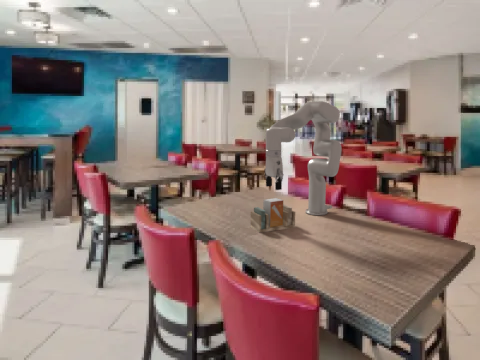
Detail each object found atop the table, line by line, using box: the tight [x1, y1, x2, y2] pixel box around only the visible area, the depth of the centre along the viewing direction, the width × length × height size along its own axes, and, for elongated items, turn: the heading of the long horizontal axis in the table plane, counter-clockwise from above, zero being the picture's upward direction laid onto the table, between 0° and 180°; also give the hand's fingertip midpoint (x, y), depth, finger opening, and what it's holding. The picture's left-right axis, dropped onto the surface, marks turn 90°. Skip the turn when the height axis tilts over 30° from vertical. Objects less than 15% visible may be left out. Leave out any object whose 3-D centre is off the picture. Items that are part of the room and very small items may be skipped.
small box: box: [262, 197, 284, 227], centre depth 190 cm, size 8×6×13 cm
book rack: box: [250, 203, 296, 233], centre depth 191 cm, size 20×10×10 cm, turn 114°
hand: (273, 188), depth 189 cm, fingers open, 9 cm apart
